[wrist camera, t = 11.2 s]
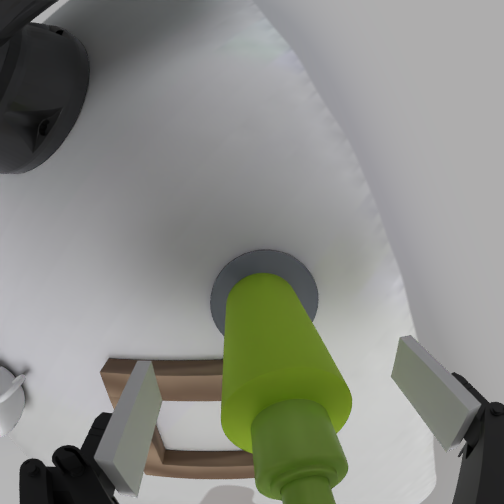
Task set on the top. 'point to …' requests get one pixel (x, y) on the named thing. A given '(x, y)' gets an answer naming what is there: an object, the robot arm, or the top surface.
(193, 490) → the top surface
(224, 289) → the coaster
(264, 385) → the soap dispenser
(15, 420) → the mug
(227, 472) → the pocket frame
